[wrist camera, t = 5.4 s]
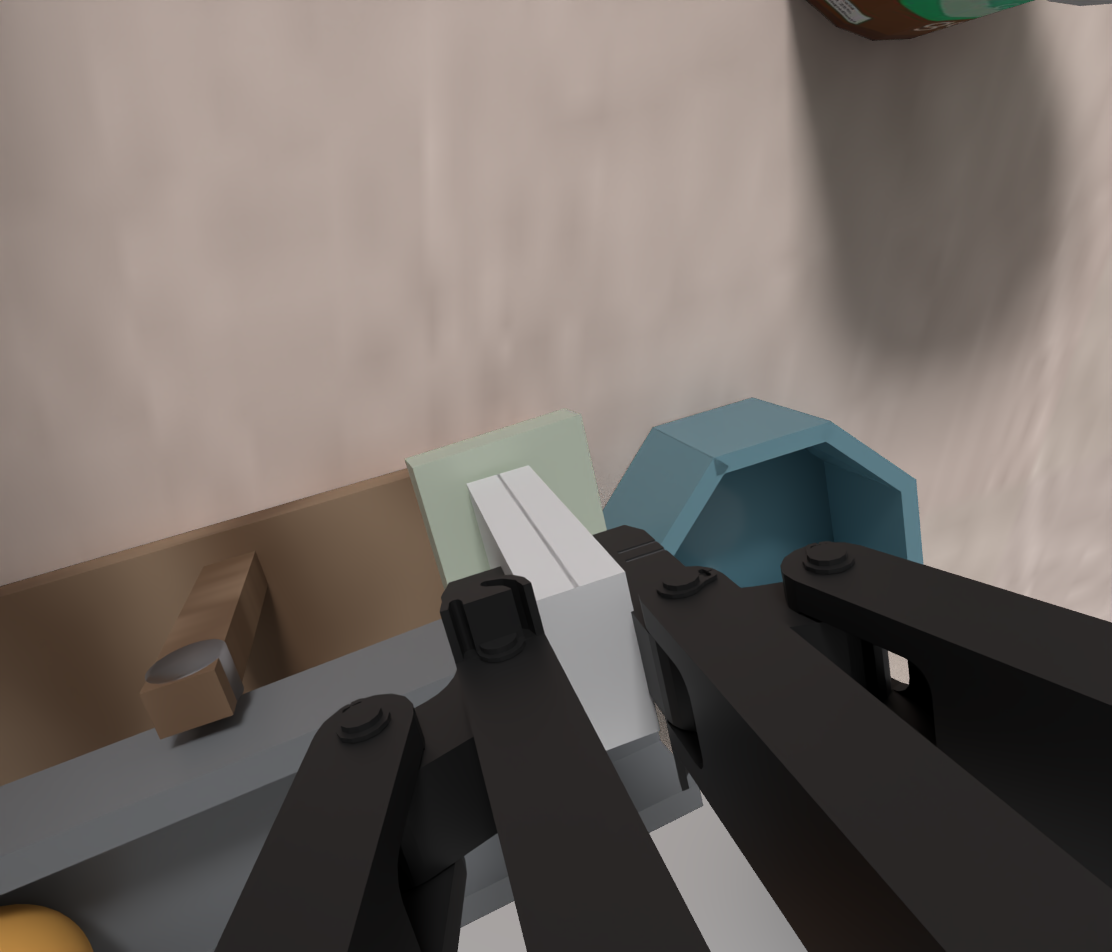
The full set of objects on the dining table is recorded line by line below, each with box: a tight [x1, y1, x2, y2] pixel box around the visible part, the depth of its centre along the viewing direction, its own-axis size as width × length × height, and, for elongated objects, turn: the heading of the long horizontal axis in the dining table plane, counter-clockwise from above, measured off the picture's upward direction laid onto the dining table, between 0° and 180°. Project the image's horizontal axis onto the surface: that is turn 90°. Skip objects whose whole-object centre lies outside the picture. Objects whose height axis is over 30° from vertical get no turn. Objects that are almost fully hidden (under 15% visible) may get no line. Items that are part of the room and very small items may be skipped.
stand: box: [0, 468, 445, 786], centre depth 22 cm, size 22×12×9 cm, turn 103°
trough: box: [0, 409, 703, 952], centre depth 19 cm, size 22×12×5 cm, turn 103°
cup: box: [603, 398, 923, 588], centre depth 27 cm, size 10×10×5 cm
